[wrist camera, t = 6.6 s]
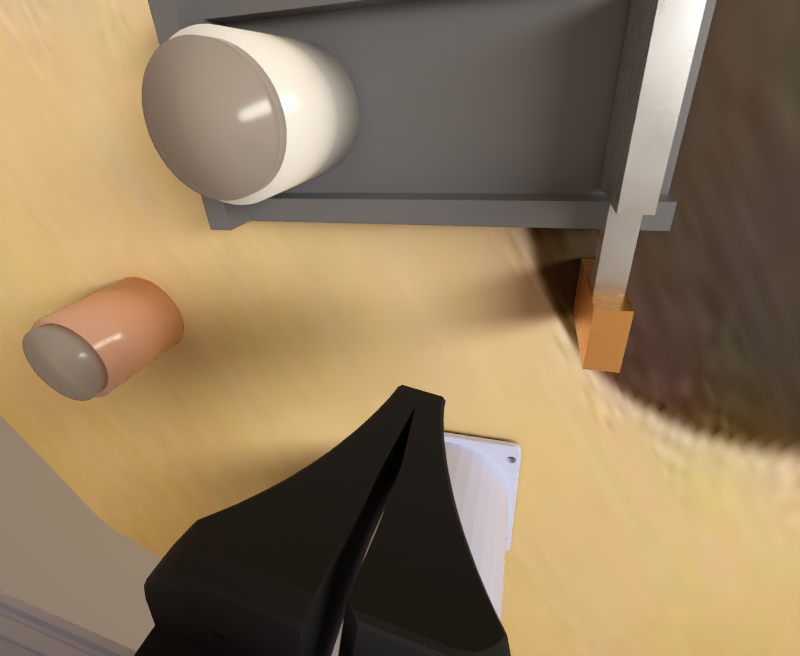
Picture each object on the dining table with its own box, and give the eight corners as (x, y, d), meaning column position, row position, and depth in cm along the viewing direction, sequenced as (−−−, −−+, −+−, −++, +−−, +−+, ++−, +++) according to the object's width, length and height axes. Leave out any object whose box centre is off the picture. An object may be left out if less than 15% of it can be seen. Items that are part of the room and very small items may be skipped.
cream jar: (364, 174, 18) (298, 211, 13) (262, 175, 19) (165, 209, 14) (352, 33, 16) (263, 10, 11) (235, 45, 17) (107, 29, 12)
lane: (656, 215, 17) (681, 244, 14) (255, 209, 21) (211, 229, 18) (726, -73, 13) (783, -119, 10) (209, -3, 17) (142, -20, 14)
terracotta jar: (193, 350, 28) (116, 410, 23) (131, 343, 29) (46, 398, 24) (168, 279, 25) (76, 329, 20) (103, 274, 27) (0, 320, 21)
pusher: (601, 310, 19) (619, 374, 15) (573, 308, 19) (582, 370, 15) (666, -11, 13) (723, -51, 9) (624, -7, 14) (662, -44, 10)
